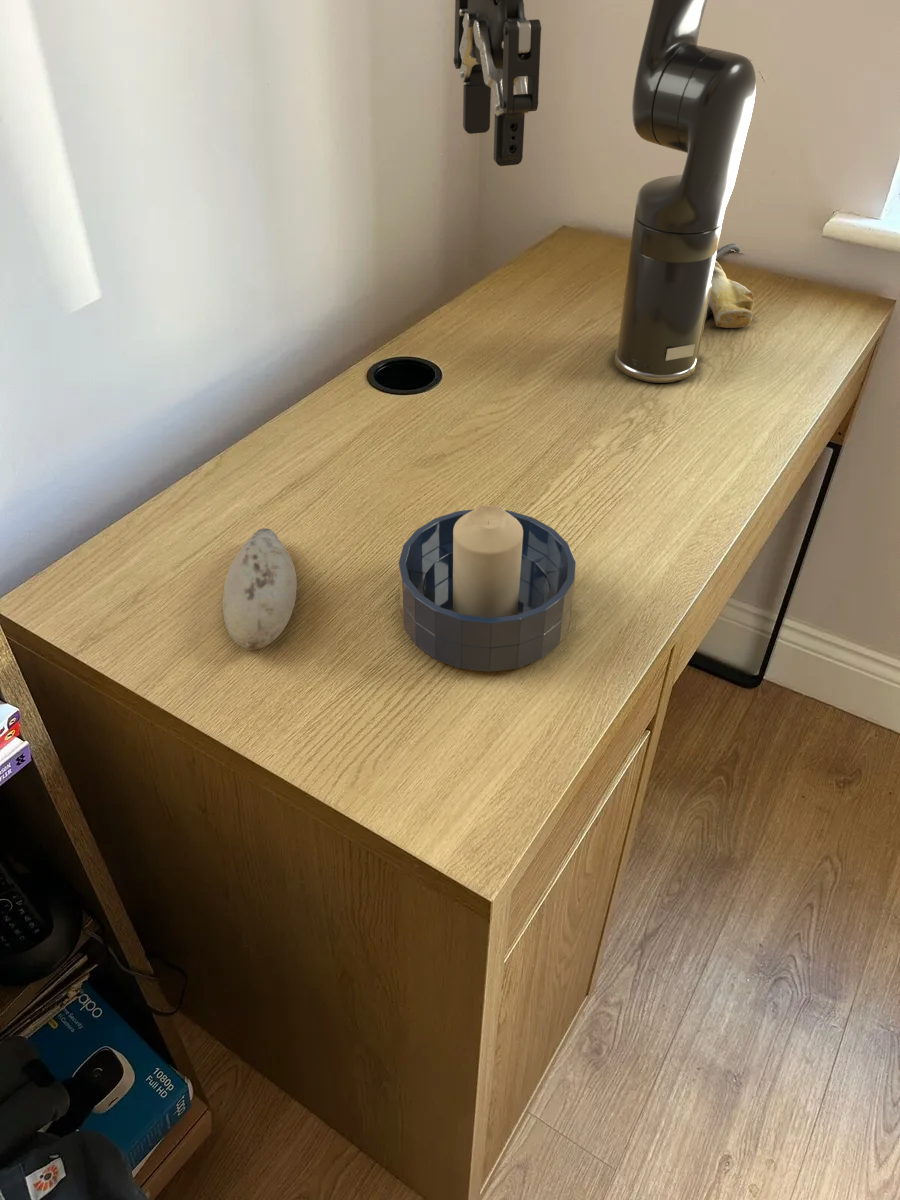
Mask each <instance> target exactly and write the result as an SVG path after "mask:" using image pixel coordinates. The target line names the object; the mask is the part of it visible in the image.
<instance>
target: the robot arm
mask: <svg viewBox="0 0 900 1200" xmlns="http://www.w3.org/2000/svg"><path fill="white" fill-rule="evenodd" d="M454 2H455V3H454V4H455V5H454V39H453V40H454V41H453V42H454V46H453V64H454V68H455V69H456V70H459V72H458V73H459V78H460V82H461V83H464V84H463V92H462V93H463V94H462V95H463V96H462V99H463V101H462V102H463V104H462V105H463V106H462V127H463V130H464V131H465V132H466V133H467V134H469V135H472V134H484V133H487V132H489V130H490V128H491V99H492V100H493V109H494V126H493V127H494V129H493V132H494V133H493V161H494V162H495V163H496V165H497V166H499V167H506V166H508V167H509V166H517V165H520V164H521V162H522V161H523V155H524V137H525V118H526V117H525V116H526V115H525V114H529V112H536V111H537V110H538V107H539V91H540V90H539V89H540V88H539V87H540V64H541V42H542V41H541V39H542V24H541V20H540V19H527V18H526V16H525V15H526V14H525V3H524V0H455V1H454ZM707 2H708V0H653V1H652V6H651V9H650V14H649V17H648V23H647V26H646V31H645V35H644V38H643V43H642V47H641V51H640V56H639V61H638V65H637V69H636V73H635V79H634V85H633V93H632V94H633V95H632V100H631V101H632V102H631V114H632V123H633V126H634V130H635V132H636V133H637V135H638V136H639V137H640V138H641V139H642V140H645V141H646V142H648V143H652V144H655V145H659V146H662V147H665V148H668V149H672V150H676V151H678V152H682V153H686V154H687V155H686V159H685V162H684V163H685V164H684V167H683V171H682V173H681V174H676V175H675V174H674V175H669V176H662V177H658V178H655V179H653V180H650V181H648V182H646V183H644V184H643V185H642V186H641V187H640V188H639V190H638V192H637V196H636V203H635V209H634V219H633V225H632V232H631V240H630V249H629V257H628V262H627V263H628V264H627V272H626V280H625V286H624V294H623V301H622V302H623V303H622V309H621V316H620V324H619V331H618V339H617V347H616V349H615V353H614V354H615V355H614V363H615V365H616V368H618V369H619V371H620V372H622V373H623V374H624V375H626V376H628V377H630V378H633V379H635V380H639V381H643V382H647V383H648V382H649V383H657V384H658V383H659V384H666V383H674V382H679V381H682V380H684V379H687V378H689V377H690V376H691V375H692V374H693V373H694V372H695V371H696V366H697V360H698V359H699V355H700V349H701V344H702V339H703V333H704V329H705V325H706V324H705V323H706V320H707V319H708V317H709V316H710V315H711V314H713V312H712V310H711V308H710V306H709V298H710V293H711V288H712V284H711V279H712V273H713V268H714V263H715V260H716V261H717V259H719V257H721V256H722V255H724V253H726V252H728V251H730V250H731V251H732V250H734V252H736V253H740V252H741V251H742V250H741V247H740V246H739V245H738V247H736V243H729V244H726V245H724V246H722V247H721V248H719V249H718V246H719V242H720V236H721V231H722V226H723V221H724V217H725V212H726V208H727V206H728V203H729V200H730V197H731V195H732V192H733V190H734V187H735V183H736V179H737V175H738V171H739V166H740V163H741V158H742V154H743V150H744V147H745V146H744V145H745V142H746V138H747V134H748V131H749V126H750V123H751V119H752V115H753V110H754V104H755V100H756V99H755V98H756V92H757V87H756V86H757V78H756V70H755V67H754V64H753V63H752V61H751V60H750V59H749V58H748V57H747V56H745V55H742V54H738V53H735V52H731V51H726V50H721V49H717V48H712V47H708V46H703V45H698V41H699V40H698V39H699V35H700V29H701V26H702V21H703V16H704V14H705V13H704V12H705V9H706V5H707ZM514 89H515V90H516V94H514Z"/></svg>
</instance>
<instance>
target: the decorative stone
mask: <svg viewBox="0 0 900 1200" xmlns="http://www.w3.org/2000/svg"><path fill="white" fill-rule="evenodd" d="M297 589H298V580H297V572H296V568H295V565H294V562H293V559H292V557H291V554H290V553H289V552H288V550H287V549H286V547H285V545H284V544H283V542H282V541H281V540H280V538H279V537H278V534H276V533H275V532H274V530H272V529H271V528H266V527H265V528H264V527H263V528H259V529H257V530H256V532H254V533H253V534H252V535H251V537H250V538H249V539H248V540H247V541H246V542H245V543H244V544H243V545H242V547H241V548H240V550H239V551H238V552H237V554H236V555H235V557H234V559H232V562H231V564H230V566H229V568H228V569H227V573H226V576H225V580H224V583H223V591H222V614H223V620H224V624H225V627H226V629H227V632H228V634H229V635H230V637H231V639H232V640H233V641H234V642H235V643H236V644H237V645H238V646H240V647H241V648H243V649H246V650H248V651H250V650H251V651H257V650H260V649H263V648H265V647H267V646H269V645H270V644H272V643H273V642H274V641H275V640H276V639H277V638H278V637H279V636H280V635H281V634H282V632H283V631H284V629H285V628H286V626H287V625H288V623H289V621H290V619H291V617H292V614H293V612H294V608H295V604H296V599H297Z"/></svg>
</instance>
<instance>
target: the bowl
mask: <svg viewBox="0 0 900 1200" xmlns="http://www.w3.org/2000/svg"><path fill="white" fill-rule="evenodd" d="M475 509H476V508H474V509H465V510H456V511H453V512H450V513H448V514H445V515H440V516H438V517H434V518H433V519H432V520H429V521H428V522H426V523H425V524H423V525H421V526H420V527H418V528H417V529H416V530H415V531H414V532H413V533H412V534H411V535H410V537H408V539H407V540H406V541H405V542H404V544H403V545H402V549H401V552H400V556H399V558H398V559H399V560H398V578H399V579H398V582H399V607H400V616H401V621H402V625H403V626H402V627H403V629H404V631H405V633H406V634H407V635H408V637H409V638H410V639H411V641H412V642H413V644H414V645H415V646H416V647H417V648H418V649H420V650H421V651H422V652H424V653H426V654H427V655H428V656H430V657H431V658H432V659H434V660H436V661H438V662H441V663H443V664H447V665H448V666H452V667H455V668H457V669H460V670H468V671H479V672H486V673H488V672H490V673H492V672H499V671H507V670H514V669H521V668H522V667H524V666H528V665H529V664H532V663H535V662H537V661H540V660H542V659H543V658H544V657H546V656H547V655H548V654H549V653H551V652H552V651H553V650H554V649H556V648H557V647H559V645H560V644H561V642H562V640H563V639H564V636H565V635H566V633H567V631H568V629H569V627H570V622H571V621H570V620H571V612H572V604H573V598H574V597H573V595H574V587H575V579H576V568H577V567H576V566H577V562H576V559H575V556H574V554H573V551H572V549H571V547H570V545H569V543H568V542H567V541H566V540H565V539H564V538H563V537H562V536H561V535H560V533H559V532H558V531H556V530H555V529H554V528H553V527H551V526H549V525H547V524H546V523H544V522H542V521H540V520H539V519H537V518H535V517H533V516H529V515H526V514H522V513H519V512H515V511H513V510H508V509H504V510H505V511H506V512H507V513H509V514H510V515H512V516H513V517H514V518H516V519H517V520H518V521H519V522H520V524H521V526H522V528H523V543H522V557H521V571H520V586H519V600H518V610H517V614H516V615H512V616H503V617H495V618H487V617H477V616H467V615H462V614H459V613H456V612H454V611H453V529H454V525H455V523H456V522H457V521H458V519H460V518H461V517H462V516H464V515H465V514H467V513H469V512H471V511H473V510H475Z"/></svg>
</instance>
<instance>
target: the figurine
mask: <svg viewBox="0 0 900 1200" xmlns="http://www.w3.org/2000/svg"><path fill="white" fill-rule="evenodd" d="M711 284H712V288H711V293H710V298H709V304H708V307H709V306H710V308H711V310H712V315H713V318H714V323H715V326H716V327H717V328H718V327H719V328H726V329H730V328H732V329H734V328H735V329H737V328H745V327H747V326H749V325H751V322H752V321H753V317H754V314H753V312H752V311H753V309H754V307H755V301H754V293H753V292H752V291H751V290H750V289H748V288H747V287H746V286H744V285H743V284H741V283H739V282H737V281H735V280H733V279H729V278H727V275H726V273H725V271H724V269H723V267H722V266H721V264H720V263H719V261H717V259H716V260H715V263H714V268H713V273H712V279H711Z"/></svg>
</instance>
